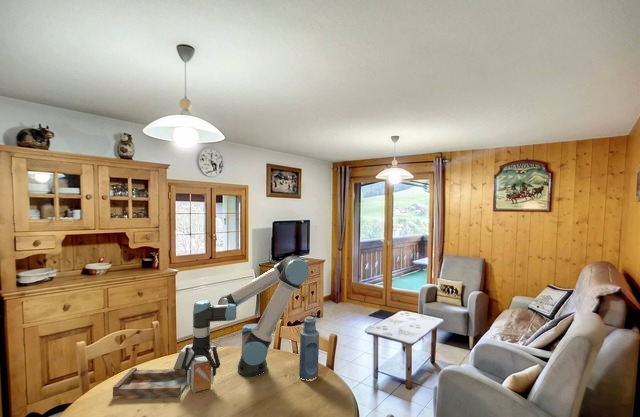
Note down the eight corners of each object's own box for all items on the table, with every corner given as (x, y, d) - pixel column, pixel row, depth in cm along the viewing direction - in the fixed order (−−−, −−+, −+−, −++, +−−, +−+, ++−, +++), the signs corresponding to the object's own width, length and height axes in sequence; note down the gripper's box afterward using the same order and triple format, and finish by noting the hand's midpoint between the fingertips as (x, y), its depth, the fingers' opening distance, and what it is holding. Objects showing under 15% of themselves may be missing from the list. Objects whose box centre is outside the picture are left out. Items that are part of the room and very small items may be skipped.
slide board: (191, 377, 159) (191, 366, 159) (179, 397, 142) (179, 385, 142) (132, 378, 156) (132, 367, 157) (112, 398, 140) (113, 386, 140)
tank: (202, 377, 159) (203, 352, 160) (169, 377, 159) (170, 351, 159) (217, 354, 184) (217, 333, 184) (188, 354, 184) (189, 332, 184)
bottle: (314, 371, 168) (315, 313, 168) (320, 380, 158) (321, 319, 159) (296, 373, 165) (298, 315, 165) (301, 383, 155) (303, 321, 156)
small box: (193, 393, 145) (193, 364, 145) (190, 387, 150) (190, 359, 150) (211, 388, 149) (211, 360, 149) (207, 382, 154) (208, 354, 155)
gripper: (227, 331, 154) (226, 377, 154) (179, 332, 152) (178, 379, 152) (224, 337, 147) (223, 386, 147) (173, 338, 145) (172, 388, 145)
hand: (200, 382), depth 150 cm, fingers closed on small box, 10 cm apart
